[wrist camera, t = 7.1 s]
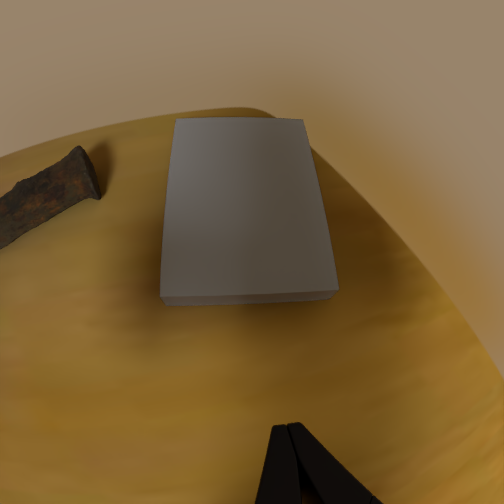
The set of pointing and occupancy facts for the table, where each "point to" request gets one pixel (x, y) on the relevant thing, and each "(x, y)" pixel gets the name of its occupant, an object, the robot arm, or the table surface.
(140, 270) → the table surface
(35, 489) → the table surface
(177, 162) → the tile
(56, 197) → the dark brown rough rod
